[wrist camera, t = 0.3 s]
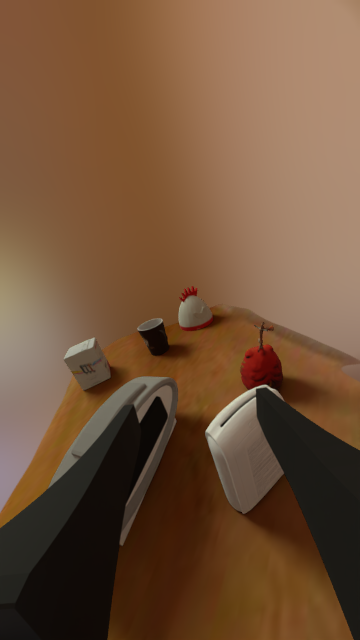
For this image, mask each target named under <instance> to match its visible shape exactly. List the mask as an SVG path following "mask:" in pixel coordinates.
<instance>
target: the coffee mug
mask: <svg viewBox="0 0 360 640" xmlns="http://www.w3.org/2000/svg"><path fill="white" fill-rule="evenodd" d="M138 331H139V333H140V335H141V336H142V338H143V340H144V342H145V343H146V345H147V347H148V349H149V350H150V352H151V354H152V355H160V354H163V353H165V352H166V351H167V350H168V349H169V345H168V341H167V336H166V333H165V328H164V325H163V320H162V319H159V318H158V319H153V320H149V321H147V322H145V323H143V324H141V325H140V326H139V327H138Z"/></svg>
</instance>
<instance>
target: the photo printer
mask: <svg viewBox="0 0 360 640" xmlns="http://www.w3.org/2000/svg"><path fill="white" fill-rule="evenodd" d="M264 387H267V388H268V389H269V390H271V391H272V392H273V393H274V394H276V395H277V396H278V397H279V398H281V399H282V400H283V401H284V399H283V397H282V396H281V395H280V393H279V392H278V391H277V390H275V389H272V388H270V387H269V386H268V385H262V386H258V387H255V388H253V389H251V390H249V391H247V392H245V393H244V394H242V395H240V396H239V397H238V398H236V399H235V400H234V401H232V402H231V403H230V404H229V405H228V406H227V407H225V408H224V409H223V410H222V411H221V412H220V413H219V414H218V415H217V416H216V417H215V419H214V420H213V421H212V422H211V424H210V425H209V427H208V428H207V430H206V432H205V435H206V438H207V441H208V444H209V447H210V450H211V453H212V456H213V459H214V462H215V465H216V468H217V471H218V474H219V477H220V480H221V483H222V486H223V488H224V491H225V494H226V497H227V499H228V501H229V503H230V504H231V506H232V507H233V508H235V509H236V510H238V511H240V512H242V513H243V514H245V513H247V512H248V511H250V510H251V509H252V508H253V507H254V506H255V505H256V504H257V503H258V502H259V501H260V500H261V499H262V498H263V497H264V496H265V495H266V493H267V492H268V491H269V490H270V489H271V488H272V487H273V486H274V484H275V483H276V482H277V481H278V480H279V479H280V477H281V476H282V475H283V474H284V472H283V470H282V468H281V466H280V464H279V463H278V461H277V459H276V457H275V455H274V453H273V451H272V449H271V447H270V446H269V444H268V442H267V440H266V438H265V436H264V434H263V431H262V429H261V426H260V424H259V421H258V419H257V412H256V388H264Z"/></svg>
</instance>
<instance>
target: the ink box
mask: <svg viewBox="0 0 360 640" xmlns="http://www.w3.org/2000/svg"><path fill="white" fill-rule="evenodd" d="M64 361H65V363H66V364H67V366H68V367H69V369H70V370H71V372H72V373H73V375H74V377H75V378H76V380H77V381H78V383H79V384H80V386H81V388H82V389H83V391H84V390H86V389H88V388H90V387H92V386H95V385H97V384H99V383H101V382H103V381H105V380H107V379H109V378H111V376H110V365H109V363H108V361H107V359H106V357H105V355H104V354H103V352H102V350H101V348H100V346H99V344H98V342H97V341H96V339H95V338H92V339H90V340H86V341H84V342H82V343H80V344H78V345H76V346H73V347H71V348H69V350H68V352H67V354H66V356H65V358H64Z"/></svg>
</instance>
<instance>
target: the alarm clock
mask: <svg viewBox="0 0 360 640" xmlns="http://www.w3.org/2000/svg"><path fill="white" fill-rule="evenodd" d="M177 402H178V388H177V383H176V382H175V380H174V379H172V378H169V377H139V378H135V379H133V380H131V381H130V382H128V383H126V384H125V385H123V386H122V387H121V388H120V389H118V390H117V391H116V392H115V393H114V394H112V395H111V397H110V398H109V399H108V400H107V401H106V402H105V403H104V404H103V405H102V406H101V407H100V408H99V409H98V410H97V411H96V413H95V414H94V415H93V416H92V418H91V419H90V420H89V421H88V423H87V424H86V425H85V426H84V428H83V429H82V430H81V432H80V433H79V435H78V436H77V438H76V439H75V441H74V442H73V444H72V445H71V447H70V448H69V450H68V451H67V453H66V455H65V456H64V458H63V460H62V462H61V464H60V466H59V467H58V469H57V471H56V473H55V475H54V477H53V478H52V480H51V483H50V485H49V487H51V486H52V485H53V484H54V483H55V482H56V481H57V480H58V479H59V478H60V477H62V476H63V475H64V474H65V473H66V472H67V471H68V470H69V469H70V468H71V467H72V466H73V465H74V464H75V463H76V462H77V461H78V460H79V459H80V457H81V456H82V455H83V454H84V453H85V452H86V451H87V450H88V449H89V447H90V446H91V445H92V444H93V443H94V442H95V441H96V440H97V438H98V437H99V436H100V435H101V434H102V432H103V431H104V430H105V429H106V427H107V426H108V425H109V424H110V422H111V421H112V420H113V419H114V417H115V416H116V415H117V414H118V412H119V411H120V410H121V409H122V407H123V406H124V405H131V404H134V406H135V409H136V413H137V417H138V420H139V424H140V427H141V438H140V445H139V451H138V456H137V460H136V464H135V468H134V473H133V477H132V481H131V485H130V489H129V493H128V497H127V502H126V507H125V512H124V519H123V525H122V531H121V537H120V545H121V546H123V544H124V542H125V539H126V537H127V535H128V532H129V530H130V528H131V525H132V523H133V521H134V519H135V516H136V514H137V512H138V509H139V507H140V505H141V502H142V500H143V498H144V495H145V493H146V491H147V489H148V487H149V485H150V482H151V480H152V478H153V476H154V474H155V472H156V470H157V467H158V465H159V463H160V460H161V458H162V455H163V452H164V450H165V447H166V445H167V442H168V440H169V438H170V436H171V433H172V431H173V429H174V426H175V424H176V422H177V421H176V419H175V414H176V409H177Z"/></svg>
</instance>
